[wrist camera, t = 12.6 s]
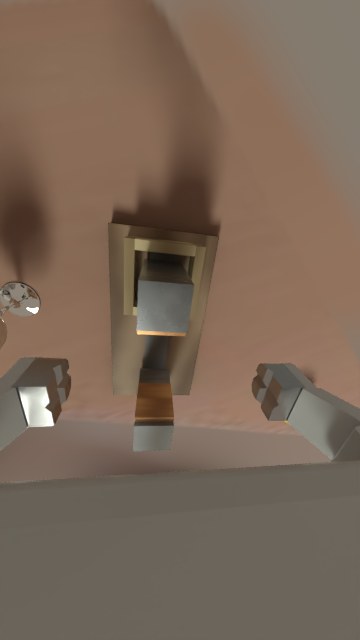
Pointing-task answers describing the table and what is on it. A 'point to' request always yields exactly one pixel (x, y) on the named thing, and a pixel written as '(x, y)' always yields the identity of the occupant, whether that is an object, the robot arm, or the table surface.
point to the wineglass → (17, 304)
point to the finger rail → (154, 350)
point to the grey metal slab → (164, 298)
